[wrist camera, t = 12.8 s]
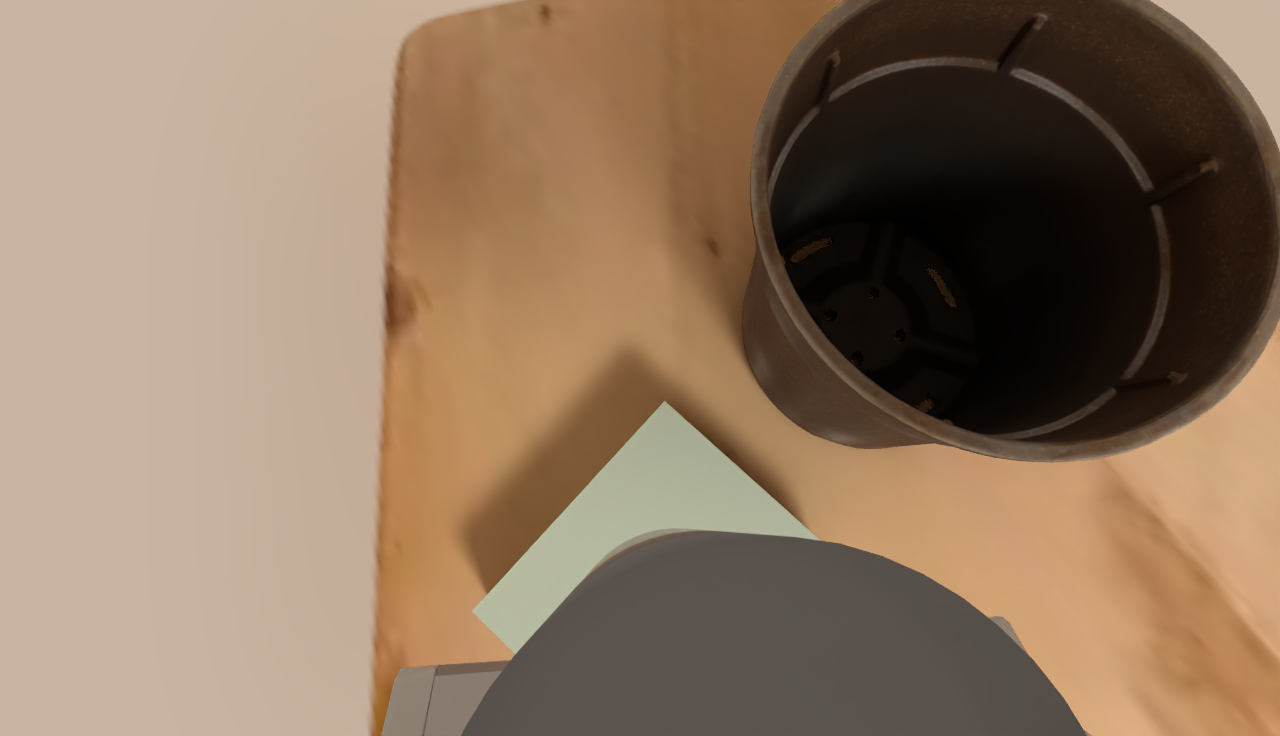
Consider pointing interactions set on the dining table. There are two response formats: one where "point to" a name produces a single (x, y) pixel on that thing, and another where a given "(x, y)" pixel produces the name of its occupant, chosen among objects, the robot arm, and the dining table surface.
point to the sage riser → (632, 518)
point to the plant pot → (1010, 227)
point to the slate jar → (766, 650)
